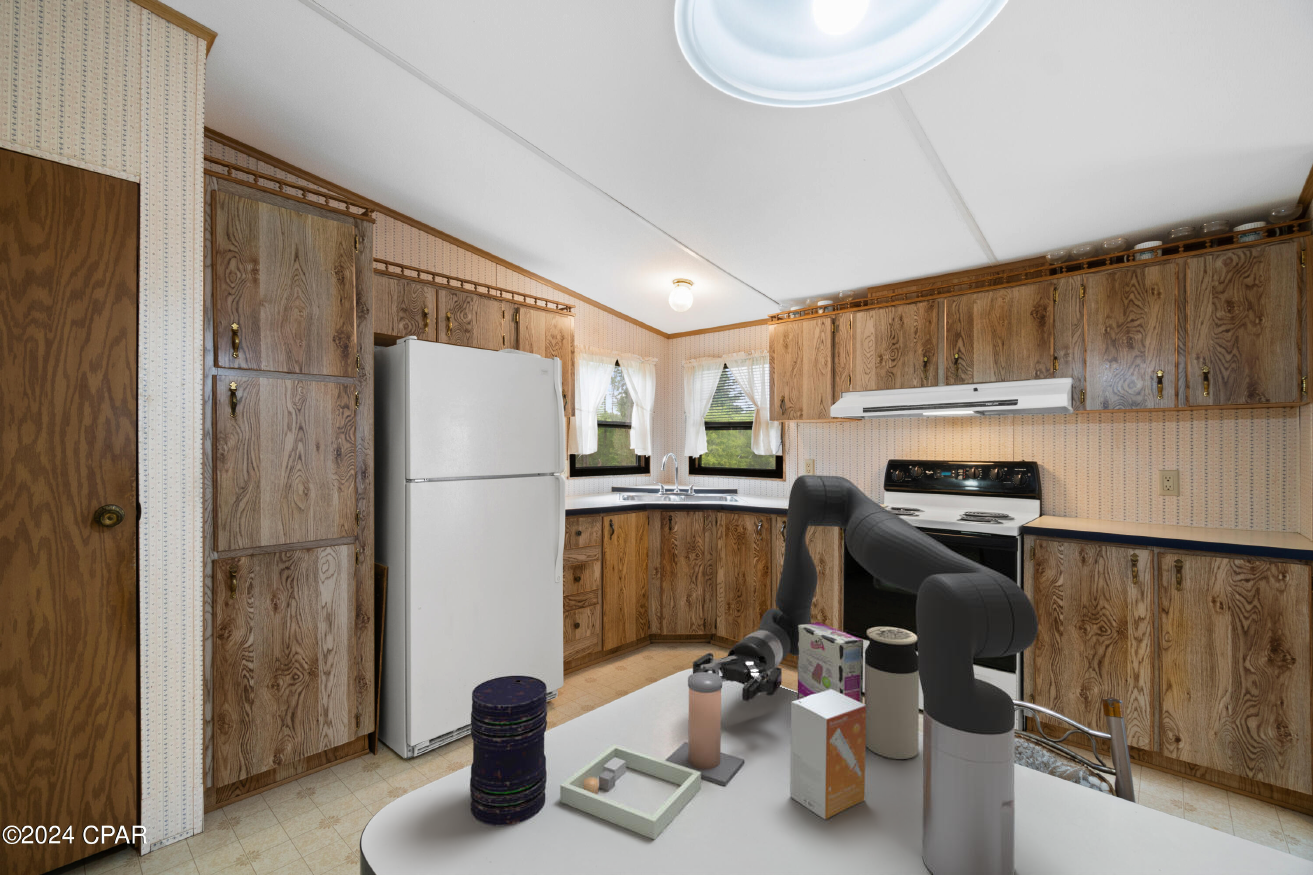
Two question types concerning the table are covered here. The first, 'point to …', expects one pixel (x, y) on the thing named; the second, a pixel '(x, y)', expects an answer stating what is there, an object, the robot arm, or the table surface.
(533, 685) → the dark blue barrel
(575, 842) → the table surface
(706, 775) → the mat
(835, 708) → the small box
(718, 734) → the canister
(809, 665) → the candy bar box
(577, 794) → the parts tub
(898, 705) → the travel mug
